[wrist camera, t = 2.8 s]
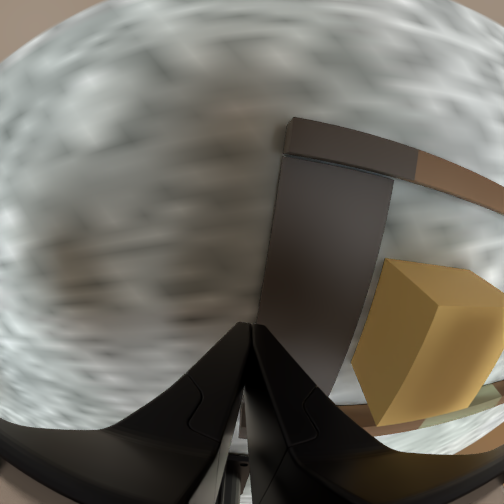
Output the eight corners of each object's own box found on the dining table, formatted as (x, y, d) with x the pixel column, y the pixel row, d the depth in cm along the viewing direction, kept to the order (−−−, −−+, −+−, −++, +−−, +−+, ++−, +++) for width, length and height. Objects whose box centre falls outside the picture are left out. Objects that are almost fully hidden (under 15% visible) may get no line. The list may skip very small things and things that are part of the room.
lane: (524, 380, 13) (532, 389, 12) (240, 414, 12) (238, 437, 11) (580, 241, 9) (592, 247, 8) (287, 124, 8) (293, 116, 7)
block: (432, 357, 12) (467, 407, 8) (350, 360, 12) (376, 426, 8) (468, 269, 10) (522, 307, 6) (383, 256, 10) (438, 305, 6)
